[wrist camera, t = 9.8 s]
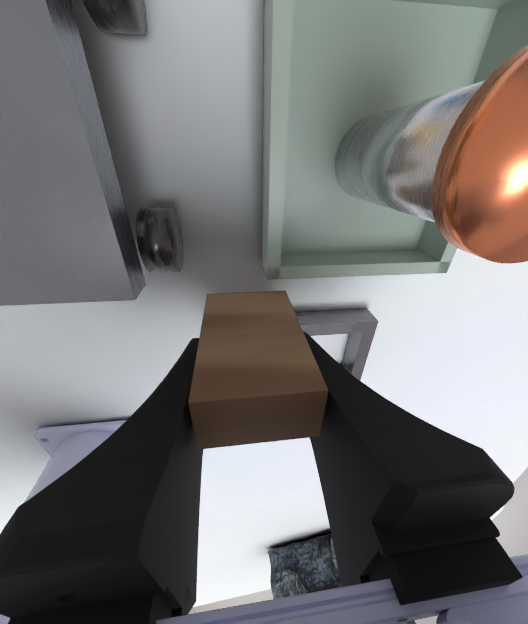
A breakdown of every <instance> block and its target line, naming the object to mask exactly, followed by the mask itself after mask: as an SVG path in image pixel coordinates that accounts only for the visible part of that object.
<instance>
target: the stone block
mask: <svg viewBox="0 0 528 624" xmlns="http://www.w3.org/2000/svg"><path fill="white" fill-rule="evenodd" d="M268 553H269V557H270V563H271V589H272V593H273V597H274V599H278V598H284V597H290V596H295V595H301V594H306V593H312V592H318V591H323V590H329V589H334V588H340V587H341V583H340V578H339V572H338V567H337V561H336V556H335V550H334V545H333V540H332V535H331V534H329V535H324V536H320V537H316V538H313V539H309V540H307V541H304V542H299V543H291V544H290V545H287V546H284V547H278V548H276V549H273V550H269V551H268ZM397 624H416V623H415V621H414V620H412V621H407V622H402V623H397Z"/></svg>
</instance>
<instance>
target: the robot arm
mask: <svg viewBox="0 0 528 624" xmlns="http://www.w3.org/2000/svg"><path fill="white" fill-rule="evenodd" d="M303 333H304V335H305V337H306V340H307V342H308V344H309V346H310V349H311V351H312V353H313V356H314V358H315V360H316V363H317V365H318V367H319V370H320V372H321V374H322V376H323V379H324V381H325V383H326V386H327V388H328V390H329V391H328V396H327V401H326V405H325V410H324V415H323V420H322V425H321V430H320V435H319V436H316V437H310V440H311V443H312V447H313V451H314V456H315V460H316V464H317V468H318V473H319V477H320V482H321V486H322V491H323V495H324V500H325V505H326V510H327V515H328V520H329V524H330V529H331V535H332V540H333V545H334V550H335V556H336V561H337V567H338V572H339V578H340V583H341V587H340V588H334V589H329V590H323V591H318V592H312V593H306V594H301V595H295V596H290V597H284V598H278V599H273V600H268V601H261V602H256V603H251V604H245V605H239V606H234V607H228V608H222V609H217V610H211V611H205V612H200V613H194V614H188V613H189V611H190V610H191V608H192V607H193V605H194V603H195V602H196V583H197V552H198V527H199V505H200V486H201V469H202V454H203V449H198V445H197V440H196V436H195V431H194V427H193V422H192V418H191V413H190V409H189V405H188V401H189V395H190V390H191V384H192V378H193V372H194V367H195V361H196V355H197V350H198V344H199V338H193V339H192V340H191V341H190V342H189V344H188V345H187V347H186V349H185V350H184V352H183V353H182V355H181V356H180V358H179V359H178V361H177V362H176V363H175V365H174V366H173V368H172V369H171V370H170V372H169V373H168V374H167V376H166V377H165V378H164V380H163V381H162V382H161V383H160V384H159V386H158V387H157V388H156V389H155V391H154V392H153V393H152V394H151V395H150V396H149V398H148V399H147V400H146V401H145V402H144V403H143V404H142V405H141V406H140V407H139V408H138V409H137V410H136V412H135V413H134V414H133V415H132V416H131V417H130V418H129V419H127V420H122V421H111V422H100V423H89V424H77V425H66V426H55V427H44V428H39V429H37V431H36V432H35V434H34V435H35V437H36V438H37V440H38V441H39V442H40V443H41V445H42V446H43V447H44V448H45V450H46V451H47V452H48V453H49V454H50V456H51V459H50V461H49V462H48V464H47V466H46V467H45V469H44V471H43V472H42V474H41V476H40V477H39V479H38V481H37V482H36V484H35V486H34V487H33V489H32V491H31V492H30V494H29V496H28V497H27V499H26V501H25V502H24V503H23V504H22V505H20V506H19V507H18V508H17V510H16V511H15V513H14V514H13V516H12V517H11V519H10V520H9V522H8V523H7V525H6V526H5V528H4V529H3V531H2V532H1V534H0V624H397V623H402V622H407V621H412V620H417V619H422V618H427V617H432V616H437V615H439V616H438V618H437V624H528V554H526V555H520V556H515V557H508V555H507V553H506V552H505V551H504V549H503V548H502V546H501V545H500V543H499V542H498V541H497V539H496V538H495V537H498V536H499V535H500V533H499V530H498V529H497V528H496V526H495V525H494V523H493V522H492V521H491V519H490V517H491V516H492V515H493V514H494V513H495V512H497V511H498V510H499V509H500V508H501V507H502V506H504V505H505V504H506V503H507V502H508V501H509V500H510V499H511V498H512V496H513V493H514V485H513V483H512V482H511V481H510V479H509V478H508V477H507V476H506V475H505V474H504V473H503V471H502V470H501V469H500V468H499V467H498V466H497V465H496V464H495V462H494V461H493V460H492V459H491V458H490V457H489V456H488V454H487V453H486V452H485V451H484V450H483V449H481V448H479V447H477V446H475V445H473V444H471V443H468V442H466V441H464V440H462V439H460V438H458V437H455V436H453V435H451V434H449V433H447V432H445V431H442V430H440V429H438V428H437V427H435V426H433V425H431V424H429V423H427V422H425V421H423V420H421V419H419V418H417V417H416V416H414V415H412V414H410V413H409V412H407V411H405V410H403V409H402V408H400V407H398V406H397V405H395V404H393V403H392V402H390V401H388V400H387V399H385V398H384V397H382V396H381V395H379V394H378V393H376V392H375V391H373V390H372V389H371V388H369V387H368V386H366V385H365V384H363V383H362V382H361V381H359V380H358V379H357V378H355V377H354V376H353V375H352V374H351V373H349V372H348V371H347V370H346V369H344V368H343V367H342V366H341V365H340V364H339V363H338V362H336V361H335V360H334V359H333V358H332V357H331V356H330V355H329V354H328V353H327V352H326V351H325V350H324V349H323V348H322V347H321V346H319V345H318V344H317V343H316V342H315V341H314V340H313V339H312V338H311V337H310V336H309V335H308V334H307V333H306V332H303ZM187 614H188V615H187Z"/></svg>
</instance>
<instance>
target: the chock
mask: <svg viewBox="0 0 528 624" xmlns="http://www.w3.org/2000/svg"><path fill="white" fill-rule="evenodd" d="M328 391H329V390H328V388H327V386H326V383H325V381H324V379H323V376H322V374H321V372H320V370H319V367H318V365H317V363H316V360H315V358H314V356H313V353H312V351H311V349H310V346H309V344H308V342H307V340H306V337H305V335H304V333H303V330H302V328H301V326H300V323H299V321H298V319H297V316H296V314H295V312H294V310H293V307H292V305H291V303H290V300H289V298H288V296H287V293H286V291H265V292H244V293H222V294H207V298H206V304H205V310H204V315H203V321H202V327H201V332H200V338H199V344H198V350H197V355H196V361H195V367H194V372H193V378H192V384H191V390H190V395H189V401H188V405H189V409H190V413H191V418H192V422H193V427H194V431H195V436H196V440H197V445H198V449H206V448H215V447H224V446H233V445H243V444H252V443H261V442H270V441H279V440H288V439H297V438H307V437H316V436H319V435H320V430H321V425H322V420H323V415H324V410H325V405H326V401H327V396H328Z"/></svg>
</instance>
